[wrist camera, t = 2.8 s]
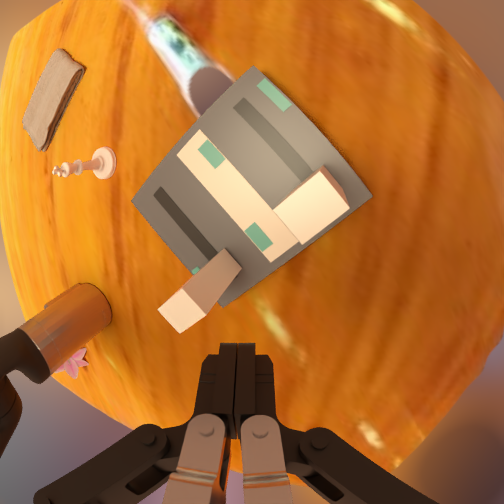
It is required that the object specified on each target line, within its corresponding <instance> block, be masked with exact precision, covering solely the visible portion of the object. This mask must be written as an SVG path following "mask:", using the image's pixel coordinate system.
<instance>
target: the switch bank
mask: <svg viewBox="0 0 504 504" xmlns="http://www.w3.org/2000/svg"><path fill="white" fill-rule="evenodd" d="M322 165H324V167H325V168H326V169H327V170H328V171H329V173H330V174H331V175H332V176H333V177H334V179H335V180H336V181H337V182H338V184H339V185H340V186H341V187H342V189H343V191H344V194H345V196H346V199H347V202H348V204H349V207H350V209H348V210H347V211H346V212H345V213H343V214H342V215H341V216H339V217H338V218H337V219H335V220H334V221H333V222H332V223H330V224H329V225H328V226H326V227H325V228H324V229H322V230H321V231H320V232H318V233H317V234H316V235H315V236H313V237H312V238H311V239H309V240H308V241H307V242H305V243H304V244H303V245H302V244H301V243H300V242H299V240H298V239H297V238H296V237H295V236H294V234H293V233H292V232H291V231H290V230H289V229H288V227H287V226H286V225H285V224H284V223H283V221H282V220H281V219H280V218H279V217H278V216H277V214H276V213H275V212H274V211H273V209H274V208H275V207H276V206H277V205H278V204H279V203H280V202H281V201H282V200H283V199H284V198H285V197H286V196H287V195H288V194H289V193H290V192H291V191H292V190H293V189H294V188H296V187H297V186H298V185H299V184H300V183H302V182H303V181H304V180H305V179H306V178H308V177H309V176H310V175H311V174H312V173H314V172H315V171H316V170H317V169H318V168H320V167H321V166H322ZM371 197H373V195H372V194H371V193H370V191H369V190H368V189H367V187H366V186H365V185H364V183H363V182H362V181H361V180H360V178H359V177H358V176H357V174H356V173H355V172H354V171H353V169H352V168H351V167H350V166H349V164H348V163H347V162H346V161H345V160H344V158H343V157H342V156H341V155H340V154H339V152H338V151H337V150H336V149H335V148H334V146H333V145H332V144H331V143H330V142H329V141H328V140H327V138H326V137H325V136H324V135H323V134H322V133H321V132H320V131H319V130H318V128H317V127H316V126H315V125H314V124H313V123H312V122H311V121H310V120H309V119H308V118H307V117H306V115H305V114H304V113H303V112H302V111H301V110H300V109H299V108H298V107H297V106H296V105H295V104H294V103H293V102H292V101H291V100H290V99H289V98H288V97H287V96H286V95H285V94H284V93H283V92H282V91H281V90H280V89H279V88H278V87H277V86H275V85H274V84H273V83H272V82H271V81H270V80H269V79H268V78H267V77H266V76H265V75H264V74H263V73H261V72H260V71H259V70H258V69H257V68H256V67H255V66H254V65H253V66H252V67H251V68H250V69H249V70H248V71H246V72H245V73H244V74H243V75H242V76H241V77H240V78H239V79H238V80H237V81H236V82H235V83H234V84H233V85H231V86H230V87H229V89H227V90H226V91H225V92H224V93H223V94H222V95H221V96H220V97H219V98H218V99H217V100H216V101H215V102H214V103H213V104H212V105H211V106H210V107H209V108H208V109H207V110H206V111H205V113H204V114H203V115H202V116H201V117H200V118H199V119H198V120H197V121H196V122H195V123H194V124H193V125H192V126H191V128H190V129H189V130H188V131H187V132H186V133H185V134H184V135H183V137H182V138H181V139H180V140H179V141H178V142H177V143H176V145H175V146H174V147H173V148H172V149H171V150H170V152H169V153H168V154H167V155H166V156H165V158H164V159H163V160H162V161H161V163H160V164H159V165H158V166H157V167H156V169H155V170H154V171H153V173H152V174H151V175H150V176H149V178H148V179H147V180H146V182H145V183H144V184H143V185H142V187H141V188H140V189H139V191H138V192H137V193H136V195H135V196H134V198H133V199H132V200H131V202H132V203H133V204H134V205H135V207H136V208H137V209H138V210H139V212H140V213H141V214H142V215H143V217H144V218H145V219H146V220H147V221H148V223H149V224H150V225H151V226H152V228H153V229H154V230H155V231H156V232H157V234H158V235H159V236H160V237H161V238H162V240H163V241H164V242H165V243H166V244H167V245H168V247H169V248H170V249H171V250H172V251H173V253H174V254H175V255H176V256H177V257H178V258H179V260H180V261H181V262H182V263H183V264H184V265H185V266H186V268H187V269H188V270H189V271H190V272H191V273H192V274H193V275H195V274H196V273H197V272H198V271H199V270H200V269H201V268H202V267H203V266H204V265H205V264H207V263H208V262H209V261H210V260H211V259H212V258H213V257H215V256H216V255H217V254H218V253H219V252H220V251H222V250H223V249H224V248H225V249H226V250H227V252H228V253H229V254H230V255H231V256H232V257H233V258H234V260H235V261H236V262H237V263H238V264H239V265H240V266H241V268H242V269H241V270H240V271H239V273H238V274H237V275H236V277H235V278H234V279H233V281H232V282H231V283H230V285H229V286H228V287H227V289H226V290H225V291H224V292H223V294H222V295H221V296H220V298H219V299H218V300H217V302H218V303H219V304H220V305H221V306H222V307H225V306H226V305H228V304H229V303H230V302H232V301H233V300H235V299H236V298H237V297H239V296H240V295H242V294H243V293H244V292H246V291H247V290H249V289H250V288H251V287H253V286H254V285H256V284H257V283H258V282H260V281H261V280H262V279H264V278H265V277H267V276H268V275H269V274H271V273H272V272H273V271H275V270H276V269H278V268H279V267H280V266H282V265H283V264H284V263H286V262H287V261H288V260H290V259H291V258H293V257H294V256H295V255H297V254H298V253H299V252H301V251H302V250H303V249H305V248H306V247H307V246H309V245H310V244H311V243H313V242H314V241H315V240H317V239H318V238H319V237H321V236H322V235H323V234H325V233H326V232H327V231H329V230H330V229H331V228H333V227H334V226H335V225H336V224H338V223H339V222H340V221H342V220H343V219H344V218H346V217H347V216H348V215H350V214H351V213H352V212H353V211H355V210H356V209H357V208H359V207H360V206H361V205H362V204H364V203H365V202H366V201H368V200H369V199H370V198H371Z"/></svg>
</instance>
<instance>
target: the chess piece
mask: <svg viewBox="0 0 504 504" xmlns="http://www.w3.org/2000/svg"><path fill="white" fill-rule="evenodd" d="M115 168H116V157H115V154H114V152H113V150H112V149H111V148H109V147H102V148H99V149H97V150H96V151H95V153H94V155H93V158H92V160H90V161H87V162H84V163H82V162H81V160H79V159H78V160H76V161H75V162H74V163H73V164H72V163H68V162H64V163H63V164H62V165H61V168H59V167H58V166H55V167H54V170H53V171H52V173H53V175H54V174H58V176H59V177H61V176H63V177H68V176H69V175H70V174H72V173H75V174H76V175H80V174H81V173H82V171H83V170H93V172H94V174H95V175H96V176H97V177H98V178H100V179H108V178H110V177H111V176H112V175H113V173H114V171H115Z"/></svg>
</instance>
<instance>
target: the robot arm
mask: <svg viewBox="0 0 504 504" xmlns="http://www.w3.org/2000/svg"><path fill="white" fill-rule="evenodd" d="M44 308H45V309H44V310H43V311H41V312H40V313H38V314H37V315H35V316H34V317H33V318H31V319H30V320H28V321H27V322H26V323H24V324H23V325H21V326H20V327H19V328H17V329H16V330H14V331H13V332H11V333H9V334H7V335H5V336H3V337H1V338H0V458H1V456H2V454H3V452H4V450H5V448H6V446H7V444H8V442H9V440H10V438H11V436H12V434H13V432H14V430H15V429H16V427H17V425H18V422H19V420H20V417H21V414H22V401H21V399H20V397H19V395H18V393H17V392H16V390H15V388H14V387H13V385H12V384H11V382H10V380H9V379H8V377H7V376H6V374H8V373H9V372H11V371H13V370H15V369H16V370H19V371H21V372H22V373H24V375H25V376H27V377H28V378H29V379H30V380H32V381H33V382H35V383H37V384H41V383H43V382H44V381H45V380H46V379H47V378H48V377H49V376H50V375H52V374H53V373H54V372H55V371H56V370H57V369H58V368H59V367H60V366H61V365H63V364H64V363H65V362H66V361H67V360H68V359H69V358H70V357H72V356H73V355H74V354H75V353H76V352H77V351H78V350H79V349H81V348H82V347H83V346H84V345H85V344H86V343H87V342H89V341H90V340H91V339H92V338H93V337H94V336H96V335H97V334H98V333H99V332H100V331H101V330H103V329H104V328H105V327H106V326H107V325H108V324H109V323H110V322H111V319H112V314H111V309H110V306H109V304H108V302H107V300H106V298H105V297H104V295H103V294H102V293H101V292H100V291H99V290H98V289H97V288H96V287H95V286H93V285H91V284H88V283H84V284H82V285H81V284H79V283H77V284H76V285H74V286H73V287H71V288H70V289H68V290H66V291H65V292H63V293H62V294H60V295H59V296H57V297H56V298H54V299H52V300H51V301H49V302H48V303H46V304H45V306H44ZM237 435H238V439H240V443H241V450H242V463H243V488H244V503H245V504H293V500H292V494H291V487H290V482H289V478H288V476H287V473H290V474H295V475H296V476H298V477H299V478H300V479H301V480H302V481H303V482H304V483H306V484H307V485H308V486H309V487H310V488H312V489H313V490H314V491H315V492H316V493H318V494H319V495H320V496H321V497H322V498H324V499H325V500H327V501H328V502H329V503H330V504H439V503H437V502H435V501H434V500H432V499H430V498H428V497H427V496H425V495H423V494H422V493H420V492H418V491H417V490H415V489H413V488H411V487H410V486H409V485H407V484H405V483H404V482H402V481H401V480H399V479H398V478H396V477H395V476H393V475H391V474H390V473H389V472H387V471H386V470H384V469H383V468H381V467H380V466H378V465H377V464H375V463H374V462H373V461H371V460H370V459H368V458H367V457H366V456H364V455H363V454H361V453H360V452H359V451H357V450H356V449H355V448H353V447H352V446H351V445H349V444H348V443H347V442H345V441H344V440H343V439H341V438H340V437H339V436H337V435H336V434H335V433H334V432H332V431H331V430H329V429H326V428H321V427H317V428H313V429H310V430H308V431H306V432H302V431H297V430H293V429H289V428H287V427H285V426H284V425H282V424H281V423H280V422H279V420H278V419H277V416H276V408H275V390H274V373H273V363H272V361H271V360H270V358H269V356H268V355H255V343H238V344H237V343H220V349H219V355H212V354H209V355H208V356H207V357H206V359H205V360H204V361H203V363H202V367H201V375H200V379H199V385H198V390H197V396H196V402H195V408H194V413H193V415H192V417H191V418H190V419H189V421H187V422H186V423H184V424H183V425H180V426H176V427H171V428H164V429H162V428H160V427H159V426H157V425H154V424H144V425H141V426H139V427H138V428H136V429H135V430H133V431H132V432H131V433H129V434H128V435H126V436H125V437H123V438H122V439H120V440H119V441H118V442H116V443H115V444H113V445H112V446H110V447H109V448H107V449H106V450H104V451H103V452H101V453H100V454H98V455H97V456H95V457H94V458H92V459H90V460H89V461H87V462H86V463H84V464H83V465H81V466H80V467H78V468H76V469H75V470H73V471H71V472H69V473H68V474H66V475H65V476H63V477H61V478H59V479H58V480H56V481H54V482H52V483H51V484H49V485H47V486H46V487H44V488H42V489H40V490H38V491H37V492H36V493H35V495H34V498H33V499H34V500H33V503H34V504H137V503H139V502H140V501H141V500H143V499H144V498H146V497H147V496H148V495H150V494H151V493H153V492H154V491H155V490H157V489H158V488H159V487H161V486H162V485H163V484H165V483H166V482H167V481H168V483H167V487H166V491H165V495H164V498H163V502H162V504H226V488H227V481H228V475H229V468H230V461H231V449H230V446H231V439H237Z"/></svg>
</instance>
